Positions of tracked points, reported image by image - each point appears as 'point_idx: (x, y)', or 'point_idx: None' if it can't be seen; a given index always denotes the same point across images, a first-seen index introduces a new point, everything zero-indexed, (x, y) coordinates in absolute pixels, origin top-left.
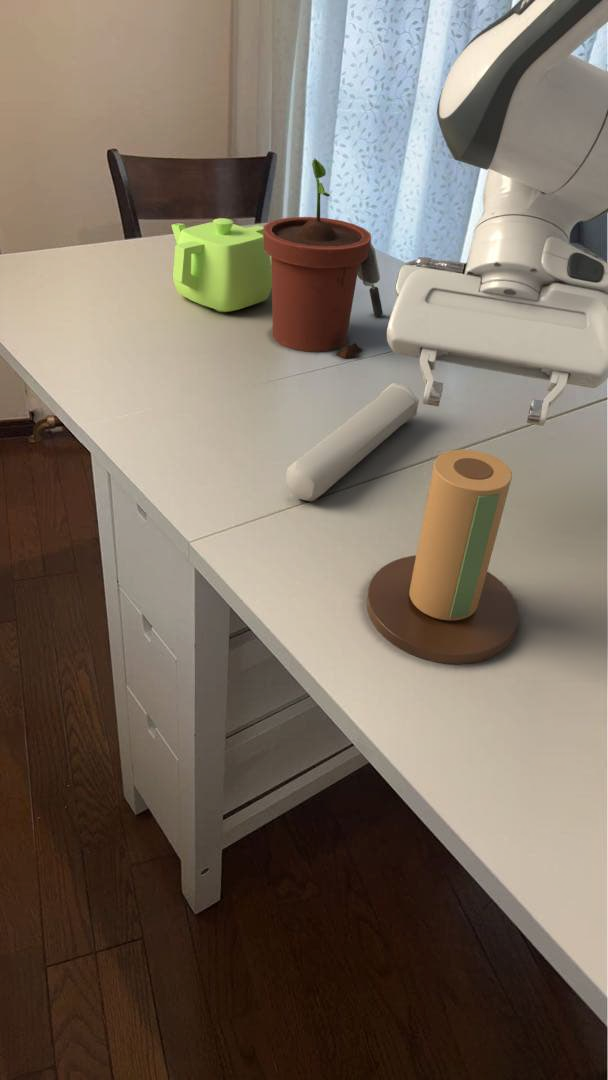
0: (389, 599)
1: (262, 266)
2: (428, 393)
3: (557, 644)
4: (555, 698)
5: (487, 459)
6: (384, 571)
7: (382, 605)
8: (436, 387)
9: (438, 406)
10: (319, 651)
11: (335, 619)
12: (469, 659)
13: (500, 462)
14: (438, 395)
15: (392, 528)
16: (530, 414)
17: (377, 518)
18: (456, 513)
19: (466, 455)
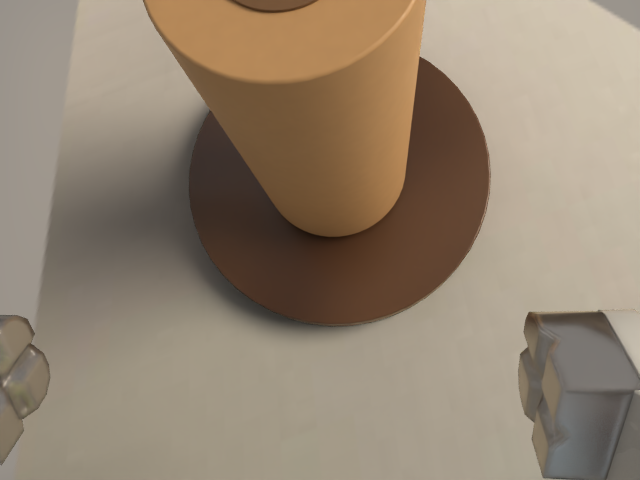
0: (439, 136)
1: None
2: (618, 320)
3: (124, 169)
4: (135, 47)
5: (230, 35)
6: (471, 218)
7: (448, 113)
8: (590, 356)
9: (518, 370)
10: (525, 2)
11: (524, 85)
12: None
13: (179, 32)
14: (549, 324)
15: (495, 431)
16: (6, 321)
17: None
18: None
19: (314, 30)
